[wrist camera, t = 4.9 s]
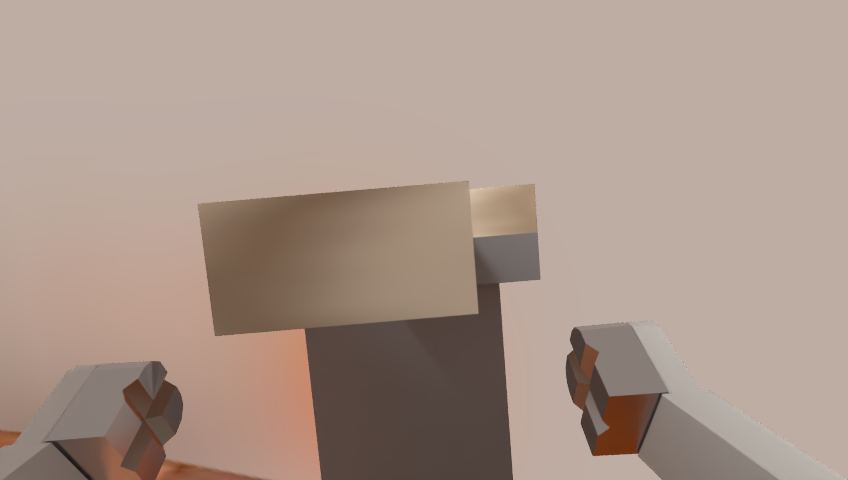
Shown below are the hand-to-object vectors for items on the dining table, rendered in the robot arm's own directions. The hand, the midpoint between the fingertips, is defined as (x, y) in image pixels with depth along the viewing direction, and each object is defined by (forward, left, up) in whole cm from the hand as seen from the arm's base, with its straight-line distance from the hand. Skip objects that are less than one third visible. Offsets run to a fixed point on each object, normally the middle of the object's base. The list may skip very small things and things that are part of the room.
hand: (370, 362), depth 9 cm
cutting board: (0, +10, +1) cm, 10 cm away
